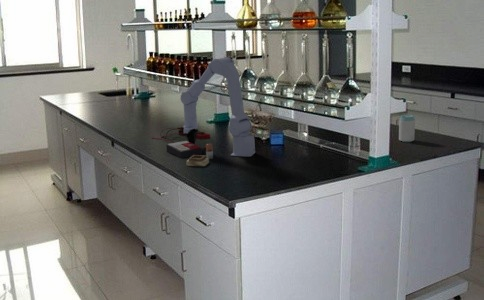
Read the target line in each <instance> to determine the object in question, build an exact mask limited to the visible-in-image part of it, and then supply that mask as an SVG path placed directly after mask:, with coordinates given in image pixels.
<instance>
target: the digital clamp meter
mask: <svg viewBox="0 0 484 300" xmlns="http://www.w3.org/2000/svg"><path fill="white" fill-rule="evenodd" d="M168 129H170V130H168ZM183 129H184V128H183V126H180V127H176V128H172V127H168V128H164V129H162V130H161V132H160V134H159V135H160V138H157V137H151V140H162V141H166V142H167V141H169V142H172V143H176V141H173V140H176V139H177V140H178V141H180V142H182V141H181V140H180V138H179V136H175V137H173V138H171V139H170V138H168V137H169V136H172V135H177V134H178V135H180V134H181V136H184V137H187V136H186V134H185V133H184V131H183ZM165 130H168V131H167V132H166V134H165V135H162V132H164V131H165ZM173 130H175V131H176V130H177V131H178V132H175V133H172V134H168V133H169V132H170V131H173ZM210 138H211V134H210V133H206V132H205V131H200V130H198V133H197V135H196V139H200V140H201V139H202V140H204V139H205V140H206V139H207V140H208V139H210ZM187 141H188V140H187ZM188 142H189V141H188Z"/></svg>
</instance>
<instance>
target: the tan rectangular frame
mask: <svg viewBox="0 0 484 300" xmlns="http://www.w3.org/2000/svg"><path fill="white" fill-rule="evenodd" d="M209 163H210V160H209V158H206V154H205V155H202V154H199V155H193V156H189V158H188V159H187V160H186V163H185V164H186V166H188V167H206V166H207V165H208V164H209Z"/></svg>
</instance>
